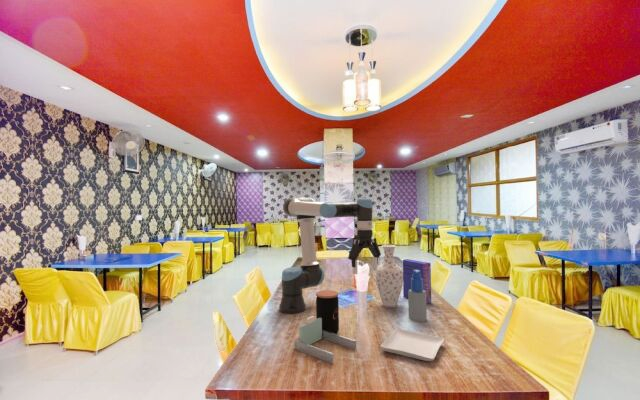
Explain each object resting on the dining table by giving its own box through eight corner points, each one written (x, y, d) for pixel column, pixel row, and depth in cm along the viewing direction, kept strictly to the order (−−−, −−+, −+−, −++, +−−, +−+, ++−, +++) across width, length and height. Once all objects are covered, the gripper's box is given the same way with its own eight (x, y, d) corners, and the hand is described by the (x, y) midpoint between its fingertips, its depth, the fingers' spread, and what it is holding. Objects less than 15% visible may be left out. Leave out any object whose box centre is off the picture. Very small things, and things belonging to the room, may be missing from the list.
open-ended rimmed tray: (294, 348, 133) (294, 340, 133) (319, 336, 145) (319, 328, 145) (332, 363, 120) (332, 354, 120) (356, 349, 132) (356, 340, 132)
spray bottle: (409, 315, 171) (408, 268, 172) (426, 316, 169) (425, 269, 169) (408, 320, 163) (407, 271, 163) (426, 322, 160) (425, 272, 160)
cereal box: (431, 302, 193) (430, 262, 193) (426, 304, 190) (425, 263, 190) (408, 296, 207) (407, 258, 207) (403, 297, 204) (402, 259, 205)
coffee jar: (337, 336, 145) (336, 296, 145) (314, 334, 147) (313, 295, 147) (340, 327, 155) (339, 290, 155) (318, 326, 157) (318, 289, 157)
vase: (373, 307, 184) (372, 247, 185) (378, 300, 199) (378, 243, 200) (401, 311, 178) (400, 248, 178) (405, 302, 193) (404, 244, 193)
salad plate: (434, 367, 117) (433, 358, 117) (379, 353, 128) (379, 345, 128) (445, 345, 135) (445, 337, 135) (396, 335, 146) (396, 327, 146)
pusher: (299, 347, 133) (299, 321, 133) (319, 337, 143) (319, 313, 143) (301, 348, 132) (301, 321, 132) (322, 338, 142) (321, 313, 142)
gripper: (351, 231, 149) (351, 276, 148) (387, 228, 163) (388, 269, 163) (340, 230, 155) (341, 274, 154) (376, 227, 169) (377, 267, 169)
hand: (365, 272), depth 159 cm, fingers open, 13 cm apart
